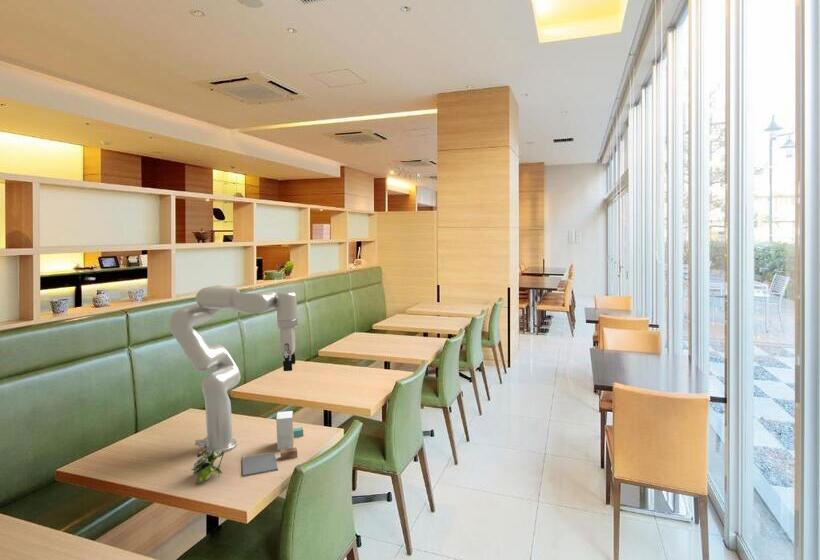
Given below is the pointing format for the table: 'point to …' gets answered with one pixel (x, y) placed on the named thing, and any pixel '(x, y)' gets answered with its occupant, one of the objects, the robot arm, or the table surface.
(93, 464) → the table surface
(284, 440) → the small box
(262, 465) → the charcoal mat
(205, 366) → the robot arm
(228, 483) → the table surface
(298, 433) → the teal block
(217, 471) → the passion flower
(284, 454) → the walnut block
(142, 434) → the table surface
